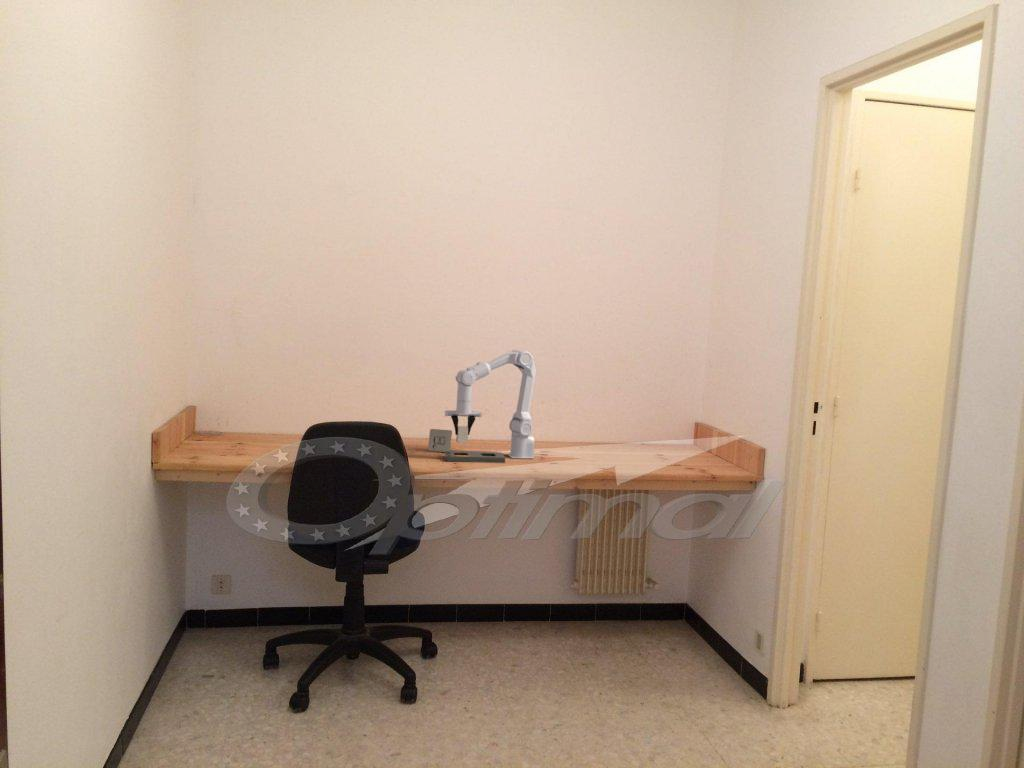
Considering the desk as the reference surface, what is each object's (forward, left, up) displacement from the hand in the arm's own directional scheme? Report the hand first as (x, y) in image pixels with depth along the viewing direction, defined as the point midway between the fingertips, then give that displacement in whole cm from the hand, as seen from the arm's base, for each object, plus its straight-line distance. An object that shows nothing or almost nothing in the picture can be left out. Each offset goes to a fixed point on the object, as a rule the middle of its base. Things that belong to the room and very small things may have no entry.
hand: (462, 434), depth 313 cm
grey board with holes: (-5, 0, -10) cm, 11 cm away
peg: (0, 0, -3) cm, 3 cm away
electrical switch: (+7, -16, -10) cm, 20 cm away
